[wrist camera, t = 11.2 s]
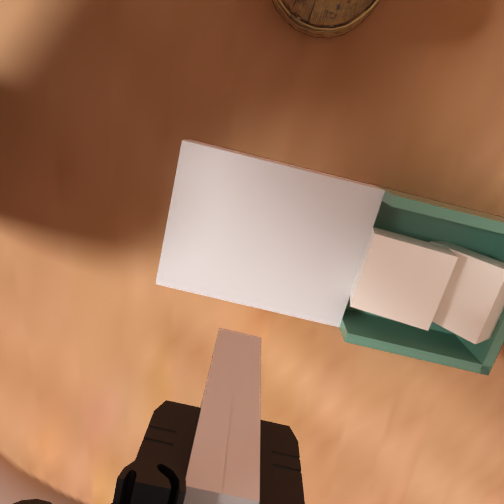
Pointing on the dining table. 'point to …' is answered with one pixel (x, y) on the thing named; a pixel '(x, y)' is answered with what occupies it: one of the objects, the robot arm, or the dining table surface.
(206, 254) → the board
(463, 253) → the tile
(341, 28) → the wooden mug
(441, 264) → the tile
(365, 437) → the dining table surface
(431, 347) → the box
